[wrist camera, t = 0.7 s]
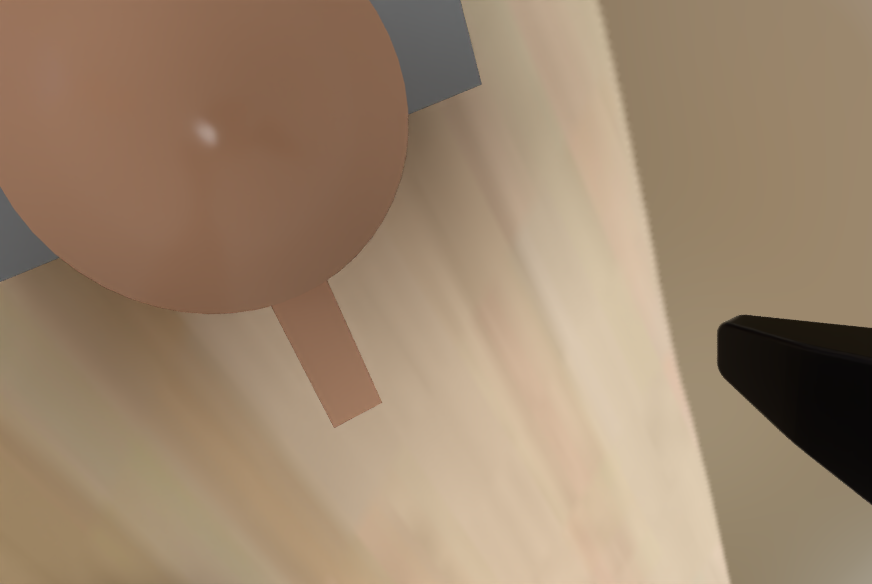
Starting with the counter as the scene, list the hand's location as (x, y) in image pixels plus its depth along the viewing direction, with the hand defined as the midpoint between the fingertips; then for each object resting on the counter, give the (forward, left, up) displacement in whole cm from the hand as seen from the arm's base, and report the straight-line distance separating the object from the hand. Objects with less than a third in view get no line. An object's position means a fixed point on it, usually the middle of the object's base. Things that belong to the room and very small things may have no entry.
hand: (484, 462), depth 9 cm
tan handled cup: (-1, +3, -13) cm, 13 cm away
